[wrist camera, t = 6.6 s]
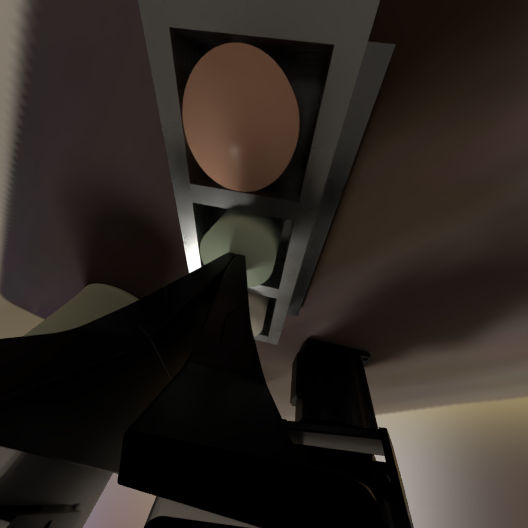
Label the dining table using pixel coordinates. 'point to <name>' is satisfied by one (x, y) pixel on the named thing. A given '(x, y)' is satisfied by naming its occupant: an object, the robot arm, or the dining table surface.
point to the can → (85, 308)
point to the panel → (312, 120)
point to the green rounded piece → (245, 242)
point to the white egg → (257, 311)
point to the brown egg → (240, 117)
